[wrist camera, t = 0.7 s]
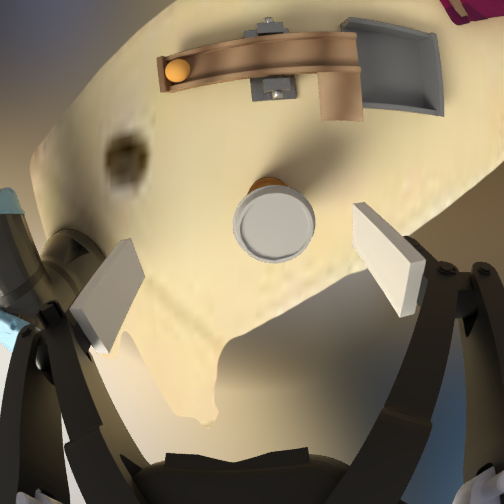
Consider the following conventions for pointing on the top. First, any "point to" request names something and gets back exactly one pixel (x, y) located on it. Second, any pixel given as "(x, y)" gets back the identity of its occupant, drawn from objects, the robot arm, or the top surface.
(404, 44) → the tray
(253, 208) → the disposable coffee cup
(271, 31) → the fulcrum
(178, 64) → the ball
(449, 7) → the book
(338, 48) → the lever
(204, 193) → the top surface
